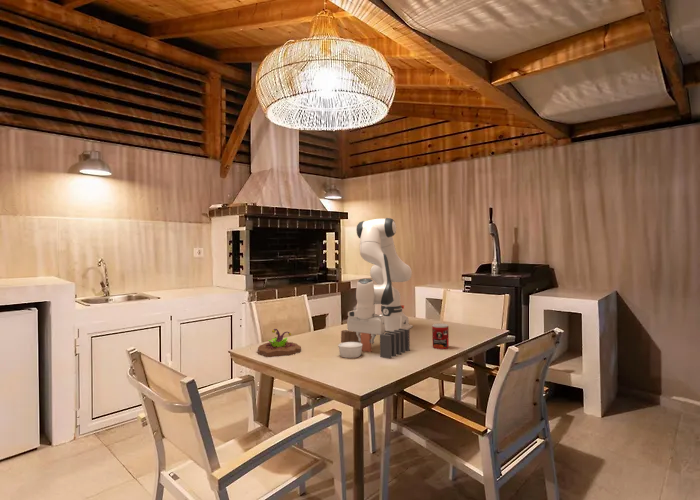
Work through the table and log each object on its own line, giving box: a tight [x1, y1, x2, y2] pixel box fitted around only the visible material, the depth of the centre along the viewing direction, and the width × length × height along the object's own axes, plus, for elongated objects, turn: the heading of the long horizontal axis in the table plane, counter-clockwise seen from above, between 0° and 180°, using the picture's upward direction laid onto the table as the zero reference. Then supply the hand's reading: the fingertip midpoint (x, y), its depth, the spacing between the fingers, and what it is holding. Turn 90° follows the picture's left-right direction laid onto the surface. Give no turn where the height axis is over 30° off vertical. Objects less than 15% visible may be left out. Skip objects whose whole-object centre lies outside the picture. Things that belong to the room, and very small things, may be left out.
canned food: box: [431, 323, 450, 350], centre depth 201 cm, size 8×8×11 cm
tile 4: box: [384, 332, 397, 357], centre depth 187 cm, size 2×5×10 cm, turn 52°
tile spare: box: [360, 333, 373, 353], centre depth 196 cm, size 2×5×10 cm, turn 52°
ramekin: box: [337, 342, 363, 359], centre depth 188 cm, size 11×11×5 cm
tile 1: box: [399, 328, 411, 352], centre depth 197 cm, size 2×5×10 cm, turn 52°
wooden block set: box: [340, 329, 372, 343], centre depth 212 cm, size 18×9×10 cm, turn 127°
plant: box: [257, 328, 302, 358], centre depth 200 cm, size 20×20×11 cm
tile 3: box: [389, 331, 402, 356], centre depth 191 cm, size 2×5×10 cm, turn 52°
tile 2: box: [394, 330, 406, 354], centre depth 194 cm, size 2×5×10 cm, turn 52°
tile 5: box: [379, 333, 393, 359], centre depth 184 cm, size 2×5×10 cm, turn 52°
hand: (366, 342), depth 196 cm, fingers closed on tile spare, 5 cm apart
